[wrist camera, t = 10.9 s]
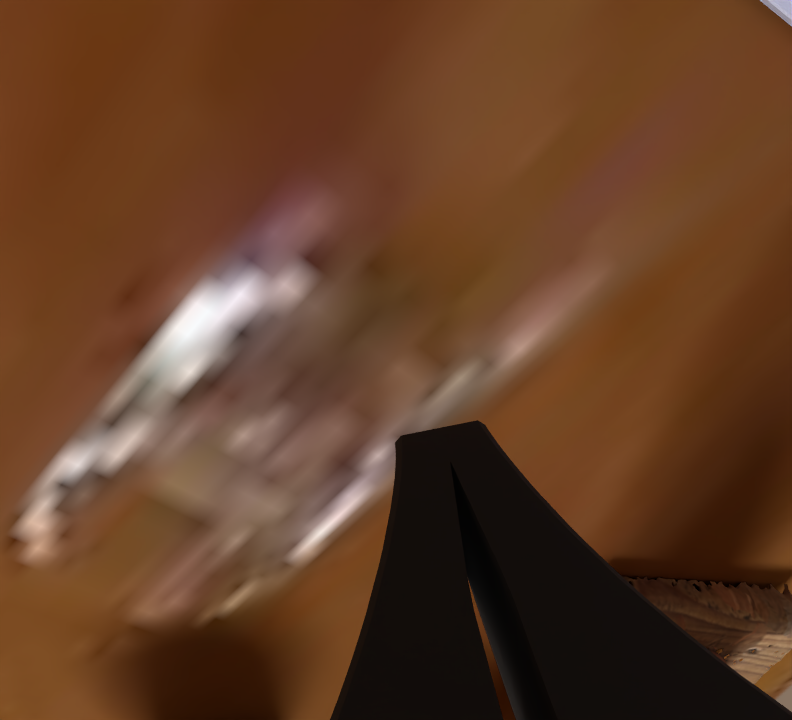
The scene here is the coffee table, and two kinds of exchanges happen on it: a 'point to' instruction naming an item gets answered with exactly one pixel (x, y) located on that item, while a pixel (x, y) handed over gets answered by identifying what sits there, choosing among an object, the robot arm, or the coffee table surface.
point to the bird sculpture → (728, 619)
